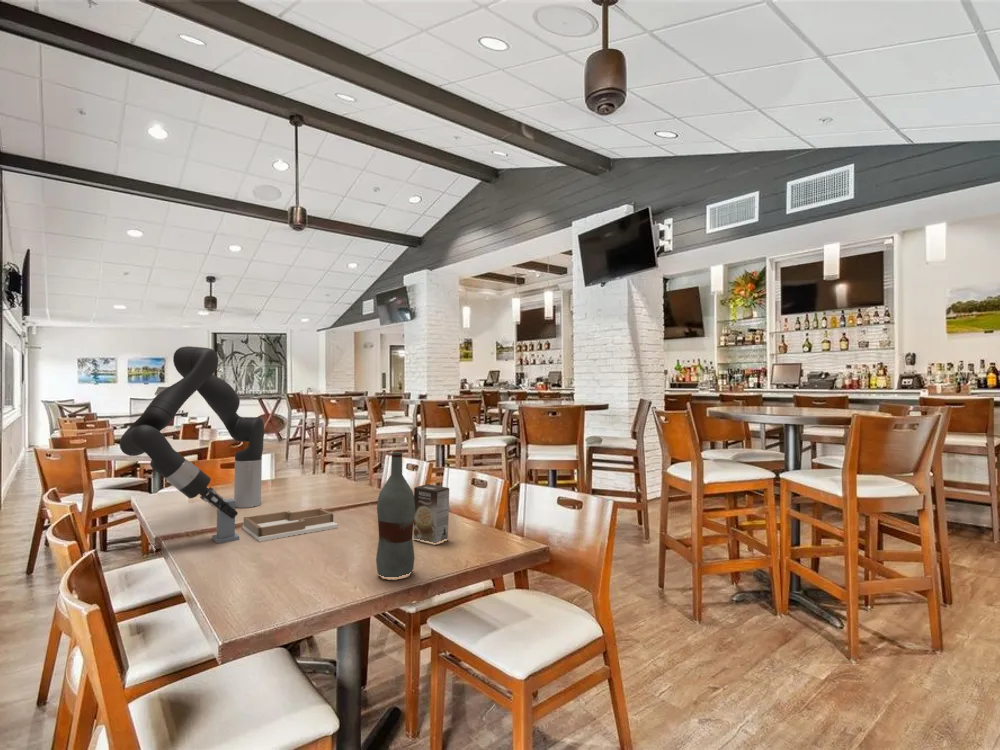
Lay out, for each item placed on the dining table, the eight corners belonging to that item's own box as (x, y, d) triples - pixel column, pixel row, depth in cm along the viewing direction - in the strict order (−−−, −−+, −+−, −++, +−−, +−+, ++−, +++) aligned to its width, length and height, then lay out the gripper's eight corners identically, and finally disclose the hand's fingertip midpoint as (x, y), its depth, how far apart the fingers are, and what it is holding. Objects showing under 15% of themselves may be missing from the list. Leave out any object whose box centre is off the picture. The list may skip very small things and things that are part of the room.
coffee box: (411, 540, 158) (412, 487, 159) (425, 535, 164) (426, 483, 164) (435, 546, 153) (436, 490, 154) (449, 540, 159) (450, 487, 159)
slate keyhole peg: (212, 538, 158) (212, 500, 158) (233, 535, 162) (234, 497, 162) (216, 543, 154) (217, 503, 154) (239, 539, 157) (239, 500, 158)
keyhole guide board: (242, 528, 169) (242, 516, 169) (316, 516, 185) (316, 506, 185) (259, 541, 156) (259, 529, 156) (337, 527, 171) (338, 516, 171)
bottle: (379, 584, 125) (381, 456, 125) (372, 571, 133) (374, 451, 133) (418, 578, 128) (420, 454, 129) (409, 566, 137) (411, 449, 137)
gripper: (204, 471, 148) (249, 508, 156) (193, 465, 159) (236, 500, 166) (181, 493, 144) (229, 530, 152) (172, 484, 155) (217, 519, 163)
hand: (233, 514), depth 159 cm, fingers closed on slate keyhole peg, 4 cm apart
